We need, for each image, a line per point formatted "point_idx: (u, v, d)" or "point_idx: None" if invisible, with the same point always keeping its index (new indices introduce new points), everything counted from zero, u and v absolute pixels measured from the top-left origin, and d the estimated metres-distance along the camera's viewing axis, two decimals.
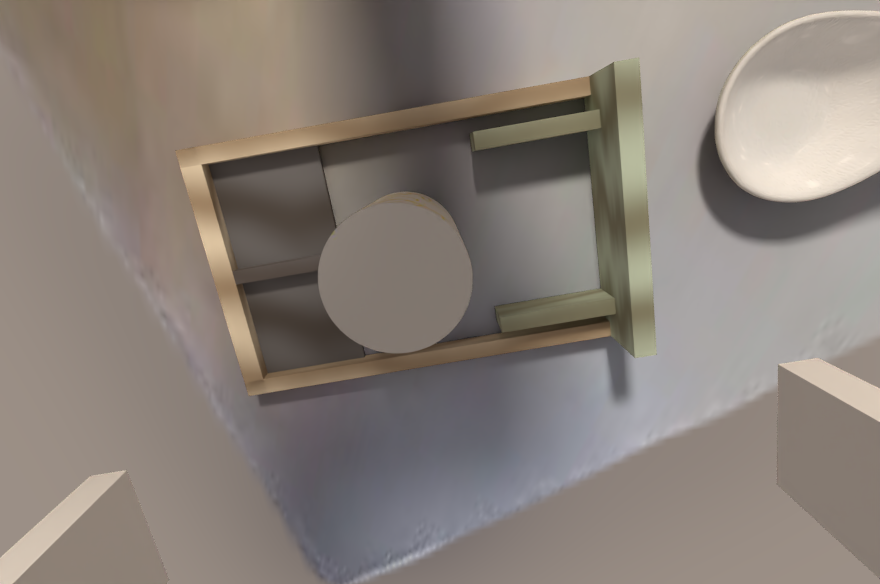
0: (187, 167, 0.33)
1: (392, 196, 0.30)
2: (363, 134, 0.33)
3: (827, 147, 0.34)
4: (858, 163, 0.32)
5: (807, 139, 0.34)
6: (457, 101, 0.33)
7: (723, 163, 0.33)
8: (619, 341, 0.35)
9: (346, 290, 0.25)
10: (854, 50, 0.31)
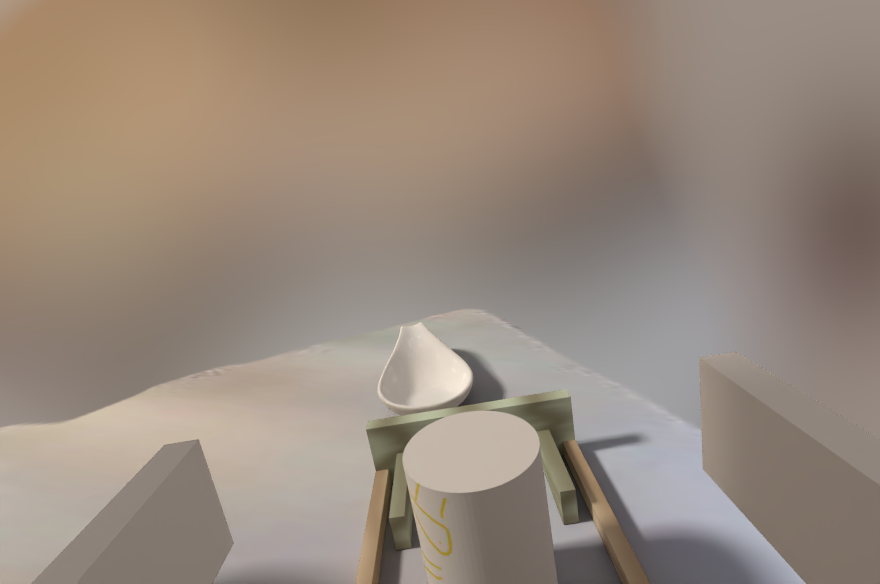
0: None
1: None
2: None
3: (448, 381, 0.61)
4: (455, 364, 0.61)
5: (443, 390, 0.60)
6: (363, 545, 0.36)
7: (447, 403, 0.53)
8: (571, 423, 0.44)
9: (474, 473, 0.26)
10: (400, 379, 0.62)
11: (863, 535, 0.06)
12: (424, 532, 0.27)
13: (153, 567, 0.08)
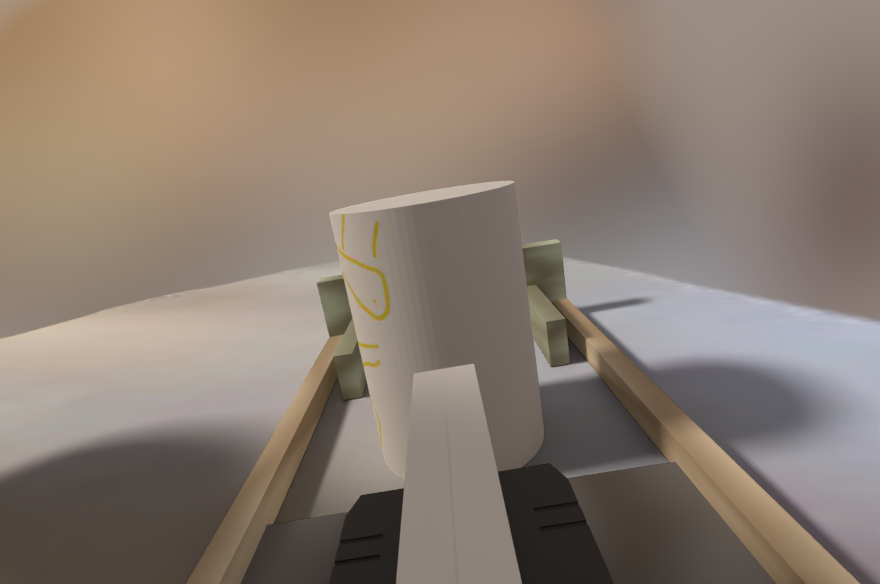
0: None
1: None
2: (284, 450, 0.23)
3: None
4: None
5: None
6: (301, 389, 0.29)
7: None
8: (561, 277, 0.37)
9: (422, 200, 0.18)
10: None
11: None
12: (356, 297, 0.20)
13: None
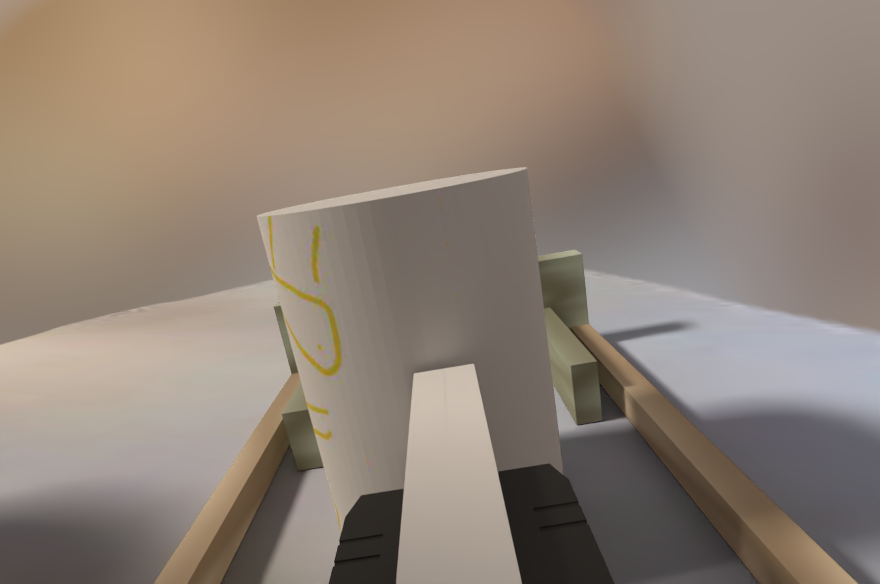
0: None
1: None
2: (186, 582, 0.15)
3: None
4: None
5: None
6: (238, 459, 0.21)
7: None
8: (583, 297, 0.29)
9: (389, 195, 0.12)
10: None
11: None
12: (296, 339, 0.13)
13: None
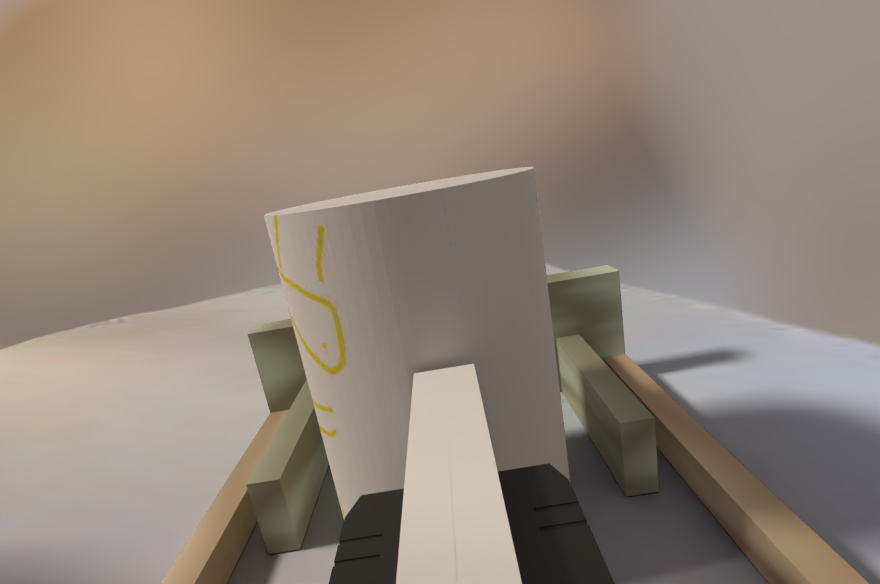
0: None
1: None
2: None
3: None
4: None
5: None
6: (189, 543, 0.17)
7: None
8: (619, 322, 0.25)
9: (394, 194, 0.12)
10: None
11: None
12: (301, 337, 0.13)
13: None
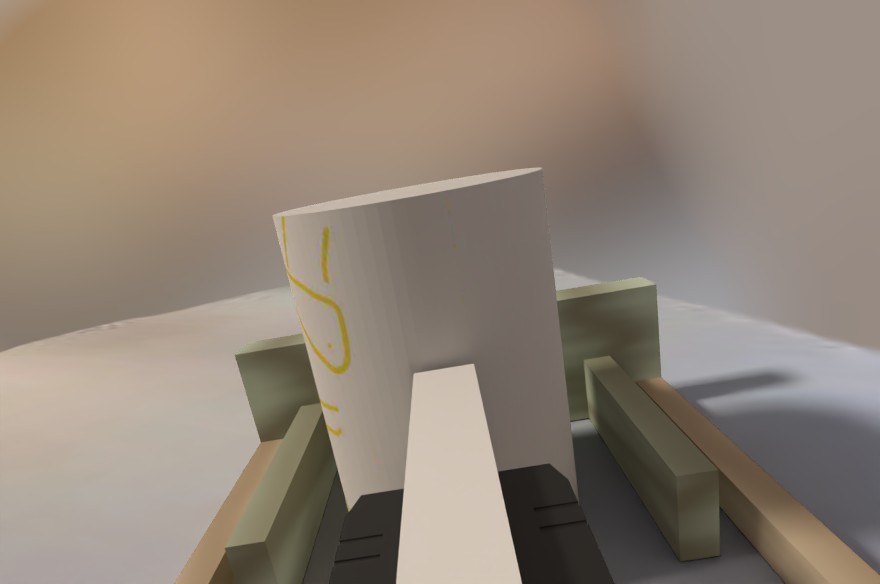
0: None
1: None
2: None
3: None
4: None
5: None
6: None
7: None
8: (655, 342, 0.22)
9: (399, 196, 0.12)
10: None
11: None
12: (308, 337, 0.14)
13: None
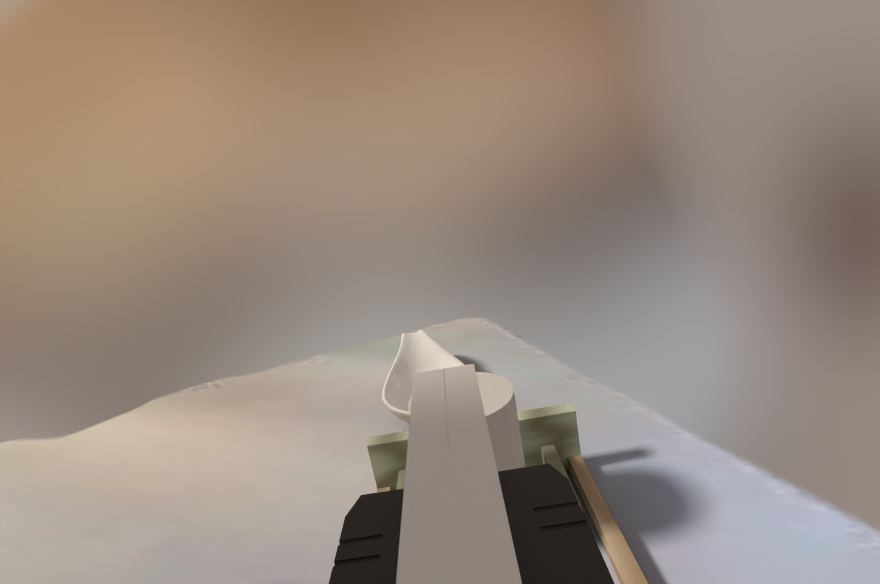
0: None
1: None
2: None
3: None
4: None
5: None
6: None
7: None
8: (576, 438, 0.43)
9: None
10: (404, 386, 0.63)
11: None
12: None
13: None
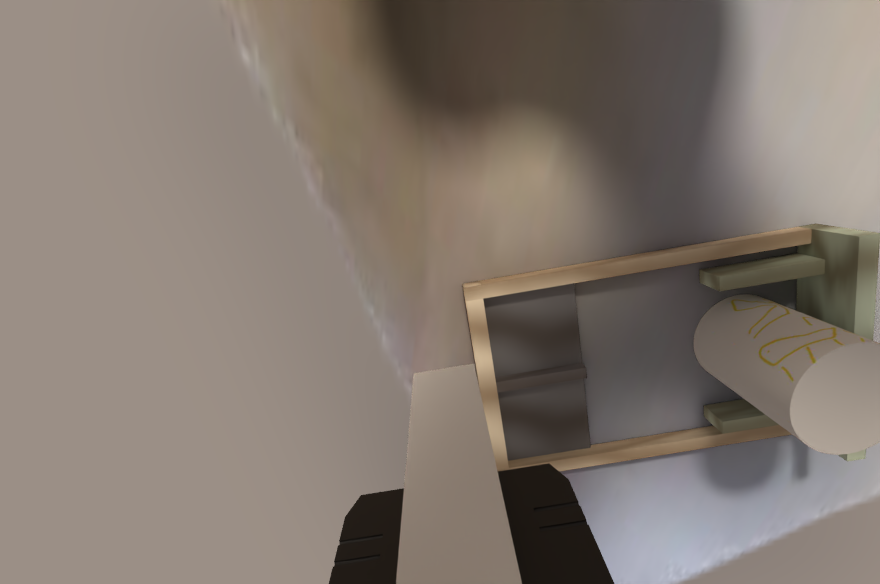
0: (471, 300, 0.40)
1: (791, 314, 0.36)
2: (620, 274, 0.40)
3: None
4: None
5: None
6: (700, 248, 0.39)
7: None
8: None
9: (811, 405, 0.32)
10: None
11: None
12: (782, 339, 0.34)
13: None
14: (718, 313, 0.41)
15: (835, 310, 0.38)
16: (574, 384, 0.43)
